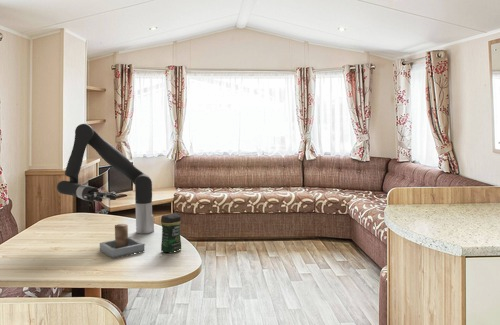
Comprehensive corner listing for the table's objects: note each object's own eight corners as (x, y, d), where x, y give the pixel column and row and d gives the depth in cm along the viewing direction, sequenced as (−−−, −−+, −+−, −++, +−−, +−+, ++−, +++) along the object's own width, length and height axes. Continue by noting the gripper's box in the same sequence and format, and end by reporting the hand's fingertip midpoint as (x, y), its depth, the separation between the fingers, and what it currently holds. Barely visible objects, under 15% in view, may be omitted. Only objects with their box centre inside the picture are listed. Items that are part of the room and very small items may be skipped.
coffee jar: (169, 254, 202) (168, 216, 200) (158, 251, 206) (157, 214, 205) (184, 250, 209) (183, 213, 207) (173, 247, 214) (173, 211, 212)
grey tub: (130, 244, 218) (130, 237, 218) (144, 251, 206) (144, 243, 206) (100, 250, 208) (99, 242, 208) (112, 258, 196) (112, 250, 195)
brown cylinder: (125, 246, 211) (124, 223, 210) (130, 249, 207) (129, 225, 205) (113, 249, 207) (112, 225, 206) (118, 252, 203) (117, 227, 202)
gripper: (76, 187, 214) (97, 193, 206) (99, 184, 226) (120, 190, 218) (75, 201, 215) (96, 208, 207) (98, 198, 227) (119, 204, 219)
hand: (108, 198), depth 212 cm, fingers open, 8 cm apart
